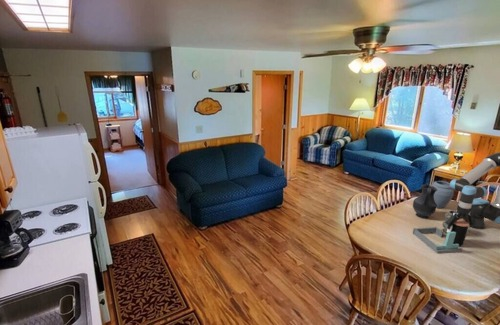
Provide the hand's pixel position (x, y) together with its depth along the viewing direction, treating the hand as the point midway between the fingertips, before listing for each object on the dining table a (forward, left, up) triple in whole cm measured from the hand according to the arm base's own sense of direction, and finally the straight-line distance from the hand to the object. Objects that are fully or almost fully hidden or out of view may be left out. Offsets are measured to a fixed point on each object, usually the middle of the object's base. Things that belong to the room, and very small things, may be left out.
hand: (456, 232), depth 200 cm
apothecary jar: (-8, -13, -9) cm, 18 cm away
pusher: (+13, +8, -9) cm, 17 cm away
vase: (-32, -55, -9) cm, 65 cm away
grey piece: (+13, -3, -9) cm, 16 cm away
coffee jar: (0, 0, -9) cm, 9 cm away
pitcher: (-3, -38, -9) cm, 39 cm away
